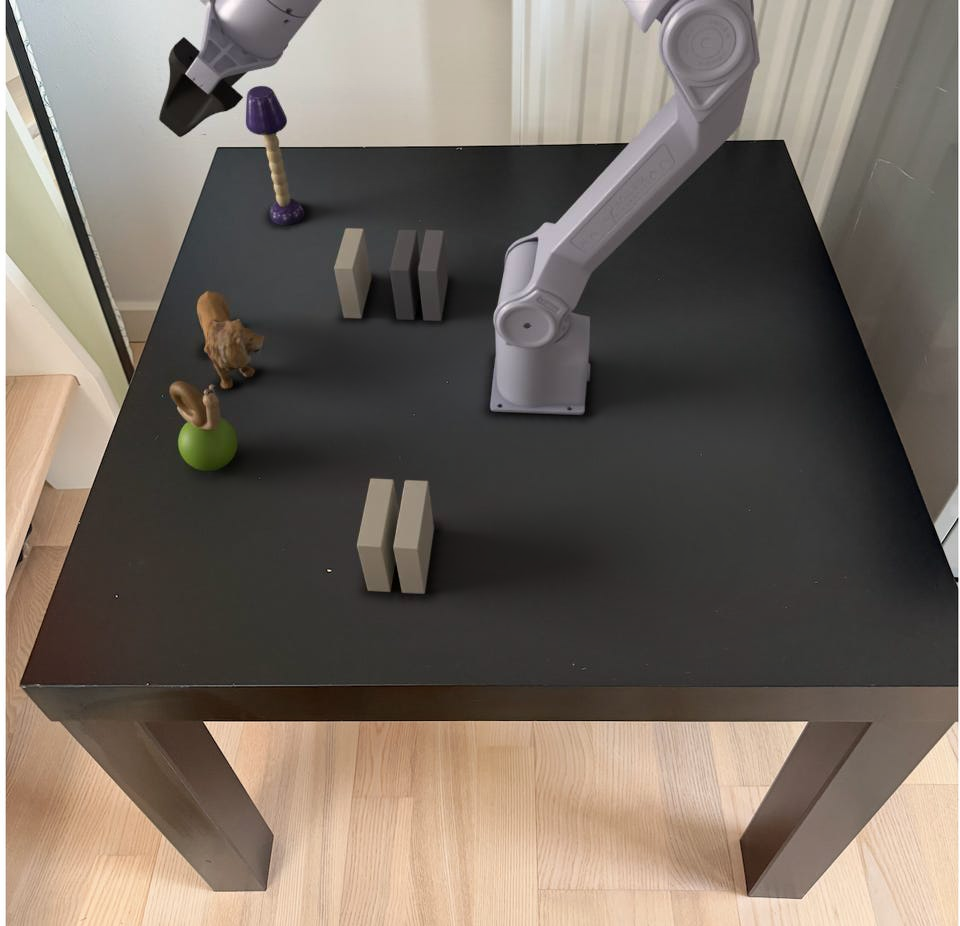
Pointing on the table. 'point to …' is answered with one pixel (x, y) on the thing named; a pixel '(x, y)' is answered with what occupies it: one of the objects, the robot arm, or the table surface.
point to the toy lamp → (272, 149)
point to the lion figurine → (226, 338)
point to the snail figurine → (203, 428)
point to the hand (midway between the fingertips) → (191, 104)
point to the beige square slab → (353, 273)
